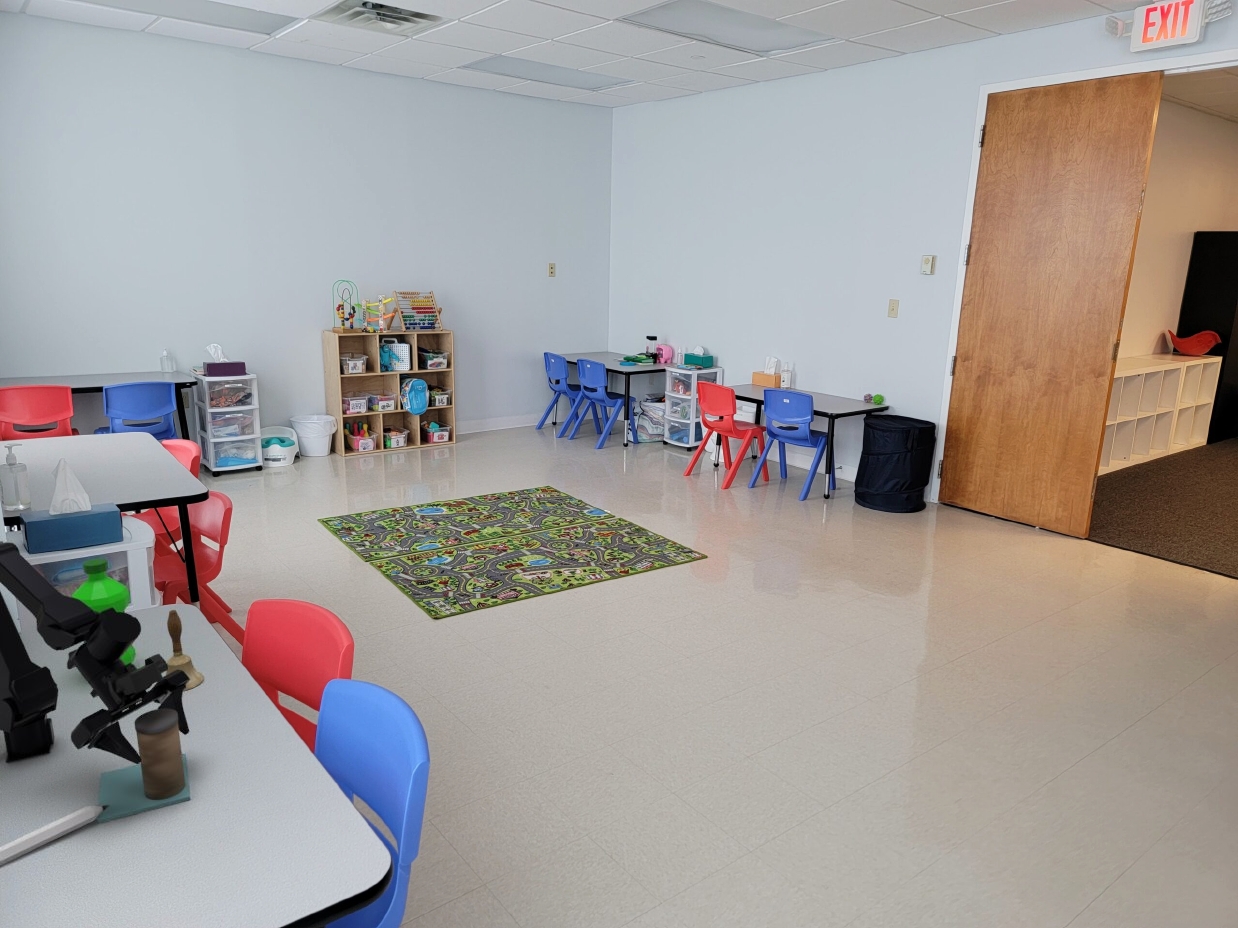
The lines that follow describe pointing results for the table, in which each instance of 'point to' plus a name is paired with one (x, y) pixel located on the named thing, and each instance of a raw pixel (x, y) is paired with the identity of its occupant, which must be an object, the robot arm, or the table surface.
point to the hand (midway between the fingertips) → (164, 747)
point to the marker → (49, 833)
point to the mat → (132, 793)
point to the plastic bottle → (104, 594)
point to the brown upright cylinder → (160, 753)
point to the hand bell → (181, 653)
